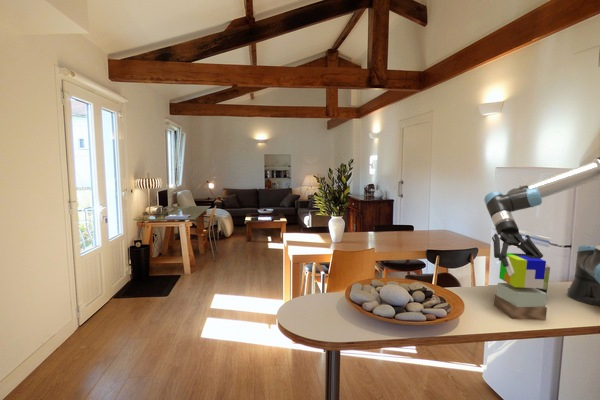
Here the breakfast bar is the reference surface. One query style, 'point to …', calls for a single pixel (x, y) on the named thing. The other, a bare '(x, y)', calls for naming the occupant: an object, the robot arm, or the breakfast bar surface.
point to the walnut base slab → (520, 310)
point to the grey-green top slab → (521, 295)
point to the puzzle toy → (524, 271)
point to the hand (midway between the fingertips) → (526, 274)
